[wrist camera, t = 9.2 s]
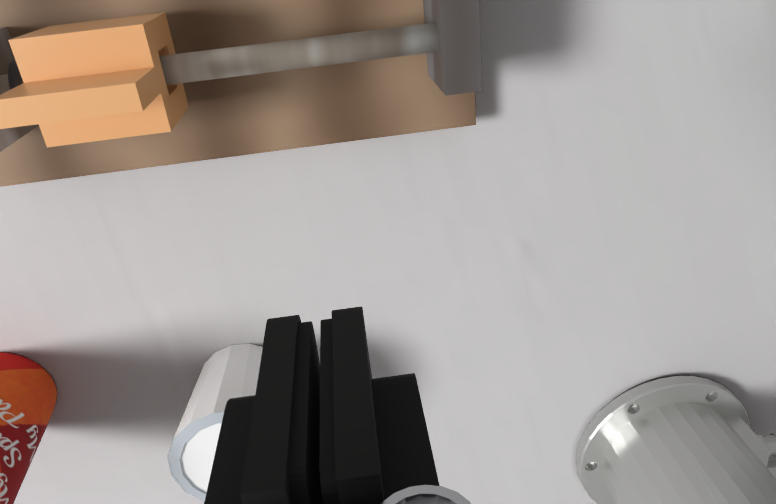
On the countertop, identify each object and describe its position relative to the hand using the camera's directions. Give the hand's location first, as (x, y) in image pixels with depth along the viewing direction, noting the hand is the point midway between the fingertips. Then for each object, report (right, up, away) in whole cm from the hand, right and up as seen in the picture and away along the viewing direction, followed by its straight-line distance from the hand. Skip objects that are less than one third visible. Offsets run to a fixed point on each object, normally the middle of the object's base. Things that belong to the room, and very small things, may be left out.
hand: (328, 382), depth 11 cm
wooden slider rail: (-7, +12, +20) cm, 24 cm away
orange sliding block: (-11, +11, +17) cm, 23 cm away
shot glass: (-8, -6, +29) cm, 30 cm away
